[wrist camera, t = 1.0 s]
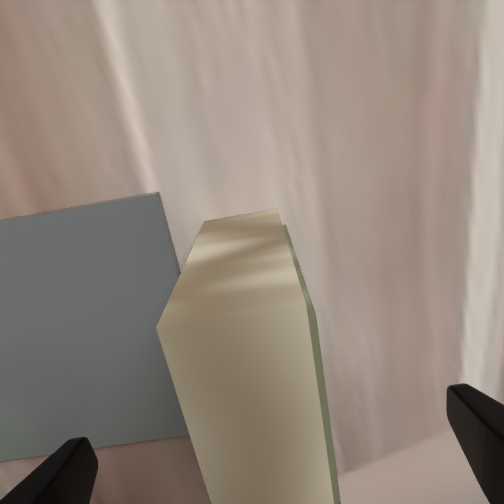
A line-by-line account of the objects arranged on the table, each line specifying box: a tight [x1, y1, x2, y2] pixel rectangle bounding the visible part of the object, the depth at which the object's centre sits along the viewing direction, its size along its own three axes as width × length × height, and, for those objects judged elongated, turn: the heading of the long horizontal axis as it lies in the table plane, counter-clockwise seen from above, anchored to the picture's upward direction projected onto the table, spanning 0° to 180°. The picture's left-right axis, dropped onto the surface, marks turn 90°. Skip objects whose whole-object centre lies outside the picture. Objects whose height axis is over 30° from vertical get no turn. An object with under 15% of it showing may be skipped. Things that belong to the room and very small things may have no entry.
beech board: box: [156, 209, 341, 504], centre depth 12 cm, size 3×7×8 cm, turn 10°
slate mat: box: [0, 192, 189, 462], centre depth 16 cm, size 14×12×1 cm
